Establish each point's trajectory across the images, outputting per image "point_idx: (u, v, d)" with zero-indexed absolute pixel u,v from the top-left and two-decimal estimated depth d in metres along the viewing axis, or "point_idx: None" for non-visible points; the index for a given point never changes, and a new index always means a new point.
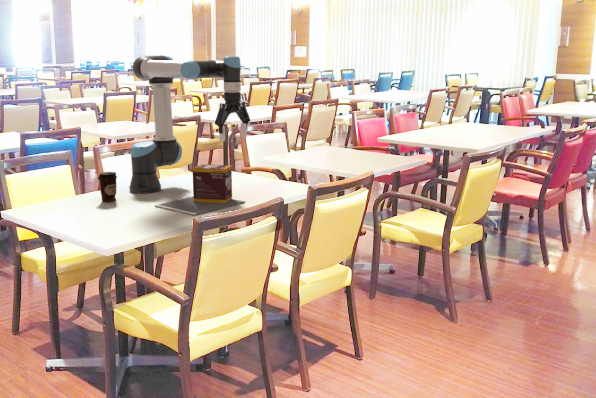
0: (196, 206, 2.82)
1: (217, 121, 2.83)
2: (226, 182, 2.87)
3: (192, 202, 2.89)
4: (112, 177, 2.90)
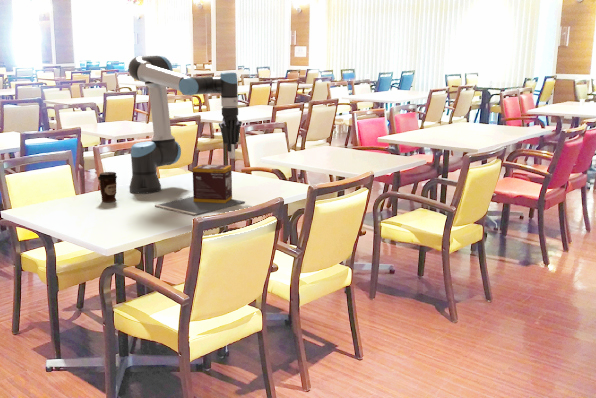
0: (196, 206, 2.82)
1: (225, 141, 2.94)
2: (226, 182, 2.87)
3: (192, 202, 2.89)
4: (112, 177, 2.90)
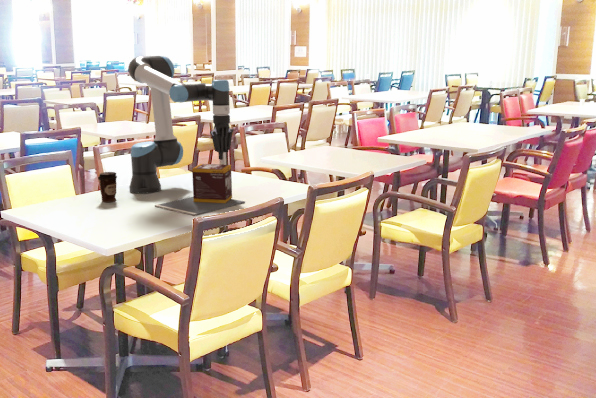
0: (196, 206, 2.82)
1: (216, 149, 2.90)
2: (226, 182, 2.87)
3: (192, 202, 2.89)
4: (112, 177, 2.90)
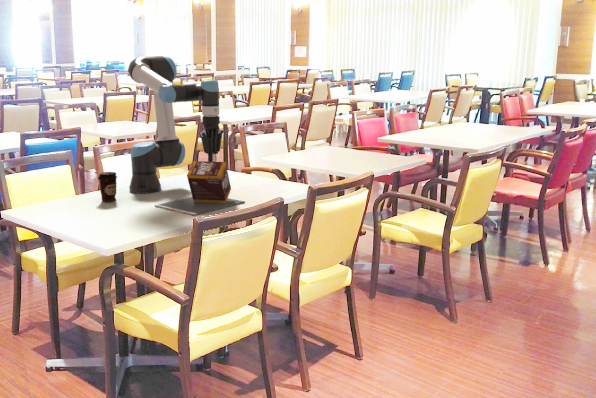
0: (196, 206, 2.82)
1: (206, 150, 2.85)
2: (223, 184, 2.83)
3: (192, 202, 2.89)
4: (112, 177, 2.90)
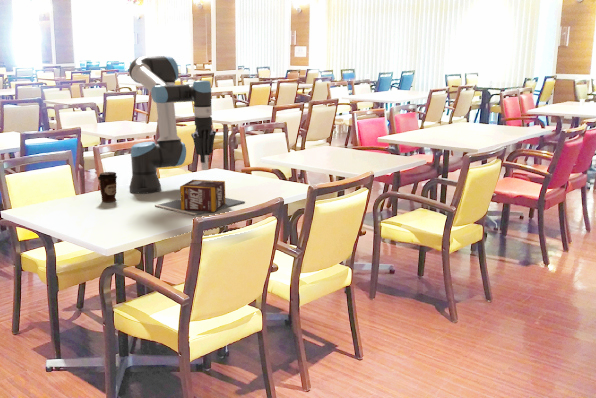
0: None
1: (198, 151, 2.82)
2: (219, 203, 2.78)
3: None
4: (112, 177, 2.90)
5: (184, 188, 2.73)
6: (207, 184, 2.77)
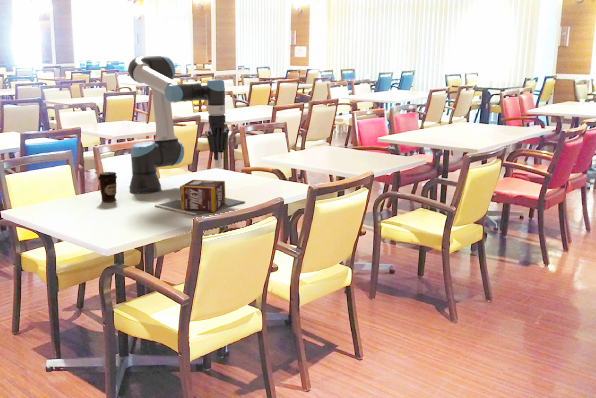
0: None
1: (211, 149, 2.88)
2: (219, 203, 2.78)
3: None
4: (112, 177, 2.90)
5: (184, 188, 2.73)
6: (207, 184, 2.77)
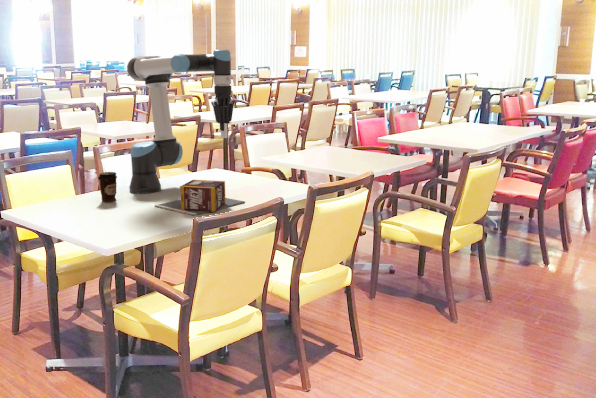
0: None
1: (217, 119, 2.89)
2: (219, 203, 2.78)
3: None
4: (112, 177, 2.90)
5: (184, 188, 2.73)
6: (207, 184, 2.77)
